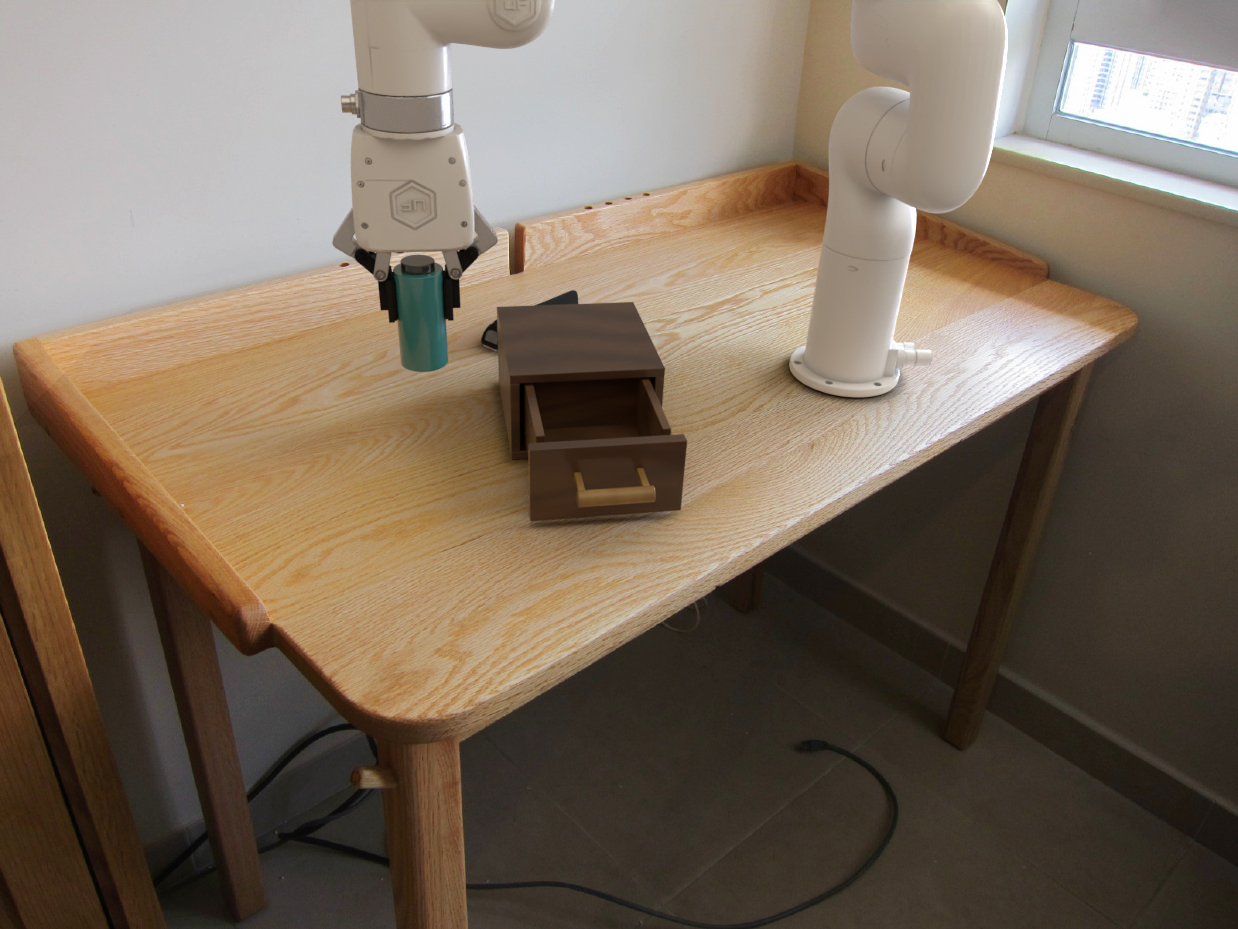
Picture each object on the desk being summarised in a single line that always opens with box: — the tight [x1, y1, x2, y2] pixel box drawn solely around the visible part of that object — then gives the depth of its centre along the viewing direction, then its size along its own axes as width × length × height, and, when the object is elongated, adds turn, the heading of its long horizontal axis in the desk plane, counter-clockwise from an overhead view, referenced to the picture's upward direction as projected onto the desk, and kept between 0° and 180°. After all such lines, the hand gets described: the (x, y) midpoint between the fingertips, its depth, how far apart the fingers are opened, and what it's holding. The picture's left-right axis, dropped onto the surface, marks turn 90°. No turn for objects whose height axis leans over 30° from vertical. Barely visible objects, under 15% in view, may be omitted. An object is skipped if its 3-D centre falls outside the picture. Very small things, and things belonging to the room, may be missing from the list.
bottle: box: [392, 254, 449, 373], centre depth 90 cm, size 4×4×10 cm
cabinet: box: [496, 301, 666, 460], centre depth 101 cm, size 16×15×9 cm
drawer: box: [522, 377, 688, 522], centre depth 89 cm, size 19×14×7 cm
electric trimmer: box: [480, 289, 579, 353], centre depth 121 cm, size 4×16×3 cm, turn 142°
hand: (421, 313), depth 90 cm, fingers closed on bottle, 4 cm apart
